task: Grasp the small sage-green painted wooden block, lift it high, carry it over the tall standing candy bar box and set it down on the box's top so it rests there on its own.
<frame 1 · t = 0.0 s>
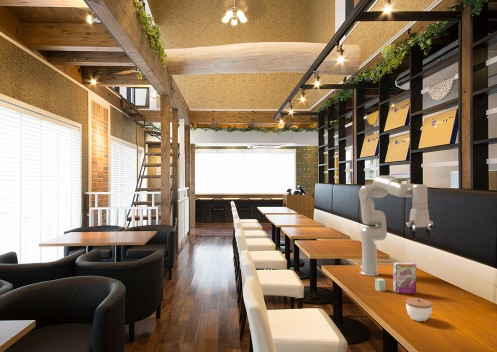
hand: (419, 237, 192), 31 cm above the table, fingers open, 9 cm apart
lidded jar: (418, 319, 157), on the table
sage block: (380, 290, 200), on the table
candy bar box: (404, 293, 195), on the table
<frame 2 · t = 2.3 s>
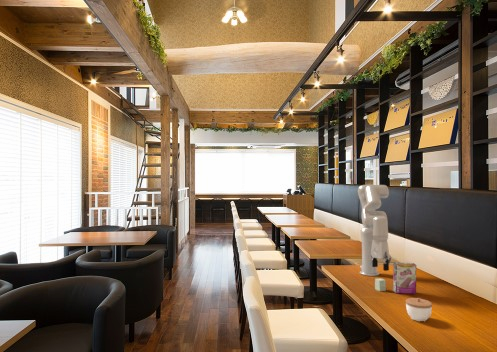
hand: (380, 268, 199), 12 cm above the table, fingers open, 9 cm apart
nothing on the table moved.
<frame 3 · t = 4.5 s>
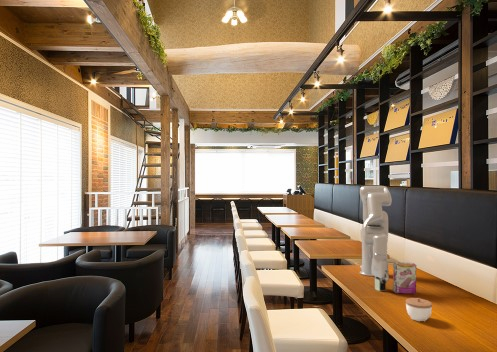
hand: (380, 288, 200), 1 cm above the table, fingers closed on sage block, 3 cm apart
sage block: (380, 289, 200), on the table, touching gripper
everything else where it was.
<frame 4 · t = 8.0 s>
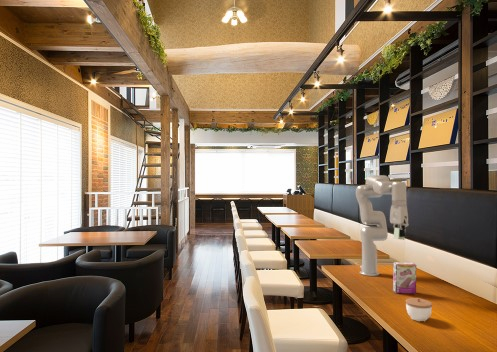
hand: (399, 235, 196), 32 cm above the table, fingers closed on sage block, 3 cm apart
sage block: (398, 238, 196), point 30 cm above the table, tilted 7°, touching gripper
everything else where it was.
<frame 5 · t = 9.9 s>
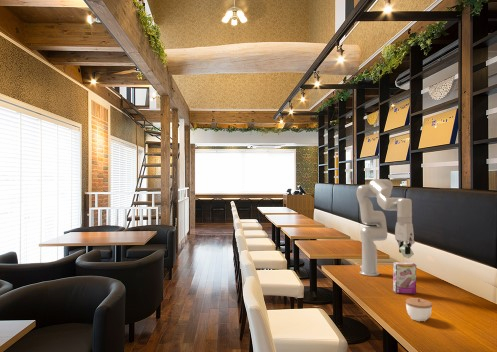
hand: (404, 252, 195), 22 cm above the table, fingers closed on sage block, 3 cm apart
sage block: (408, 255, 196), point 20 cm above the table, tilted 32°, touching gripper
everything else where it was.
when the fingers open (19 cm above the table, at t = 11.4 s): sage block moves 2 cm and tips over, resting on candy bar box.
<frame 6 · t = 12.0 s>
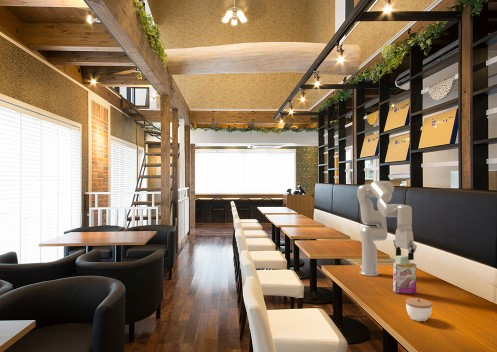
hand: (404, 257, 195), 19 cm above the table, fingers open, 9 cm apart
sage block: (406, 259, 195), point 18 cm above the table, tilted 90°, touching candy bar box
candy bar box: (404, 293, 195), on the table, touching sage block
everything else where it was.
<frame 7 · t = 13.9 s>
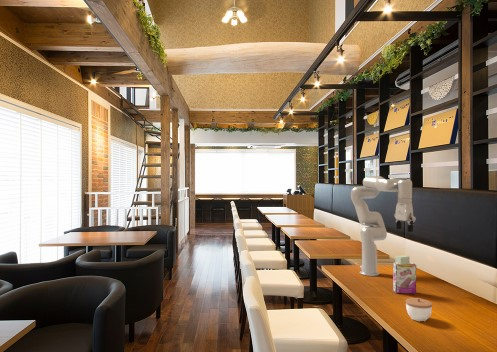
hand: (404, 230, 204), 34 cm above the table, fingers open, 9 cm apart
nothing on the table moved.
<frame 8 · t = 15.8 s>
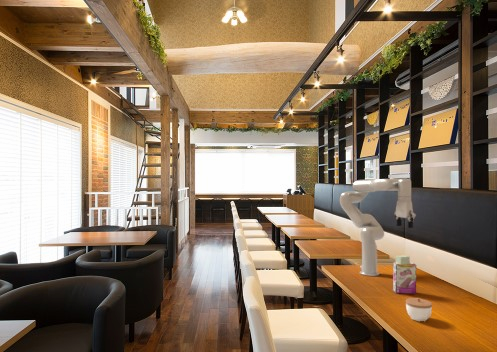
hand: (404, 226, 215), 34 cm above the table, fingers open, 9 cm apart
nothing on the table moved.
at the end: sage block inside the target area on the candy bar box (1.6 cm from its centre), point 18.6 cm above the candy bar box's base; candy bar box tilted 0°; the gripper is holding nothing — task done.
